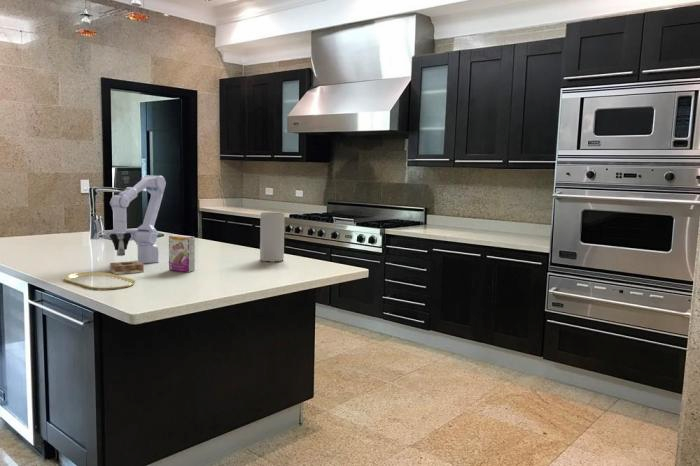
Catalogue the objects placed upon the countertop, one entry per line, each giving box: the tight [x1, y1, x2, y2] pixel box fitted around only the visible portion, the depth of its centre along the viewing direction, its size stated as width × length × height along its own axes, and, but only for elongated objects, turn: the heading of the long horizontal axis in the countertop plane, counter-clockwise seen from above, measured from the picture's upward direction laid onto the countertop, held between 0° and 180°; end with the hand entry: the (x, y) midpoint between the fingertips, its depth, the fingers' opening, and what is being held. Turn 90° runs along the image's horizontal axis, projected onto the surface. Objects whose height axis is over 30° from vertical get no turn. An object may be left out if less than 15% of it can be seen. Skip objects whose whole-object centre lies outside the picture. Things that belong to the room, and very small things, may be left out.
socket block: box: [109, 260, 145, 275], centre depth 250 cm, size 12×10×4 cm
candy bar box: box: [168, 234, 196, 273], centre depth 254 cm, size 11×5×16 cm, turn 71°
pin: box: [116, 237, 126, 257], centre depth 257 cm, size 4×4×8 cm
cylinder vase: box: [259, 211, 285, 263], centre depth 289 cm, size 12×12×25 cm
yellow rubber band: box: [64, 271, 136, 290], centre depth 227 cm, size 19×35×2 cm, turn 54°
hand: (120, 249), depth 257 cm, fingers closed on pin, 3 cm apart
